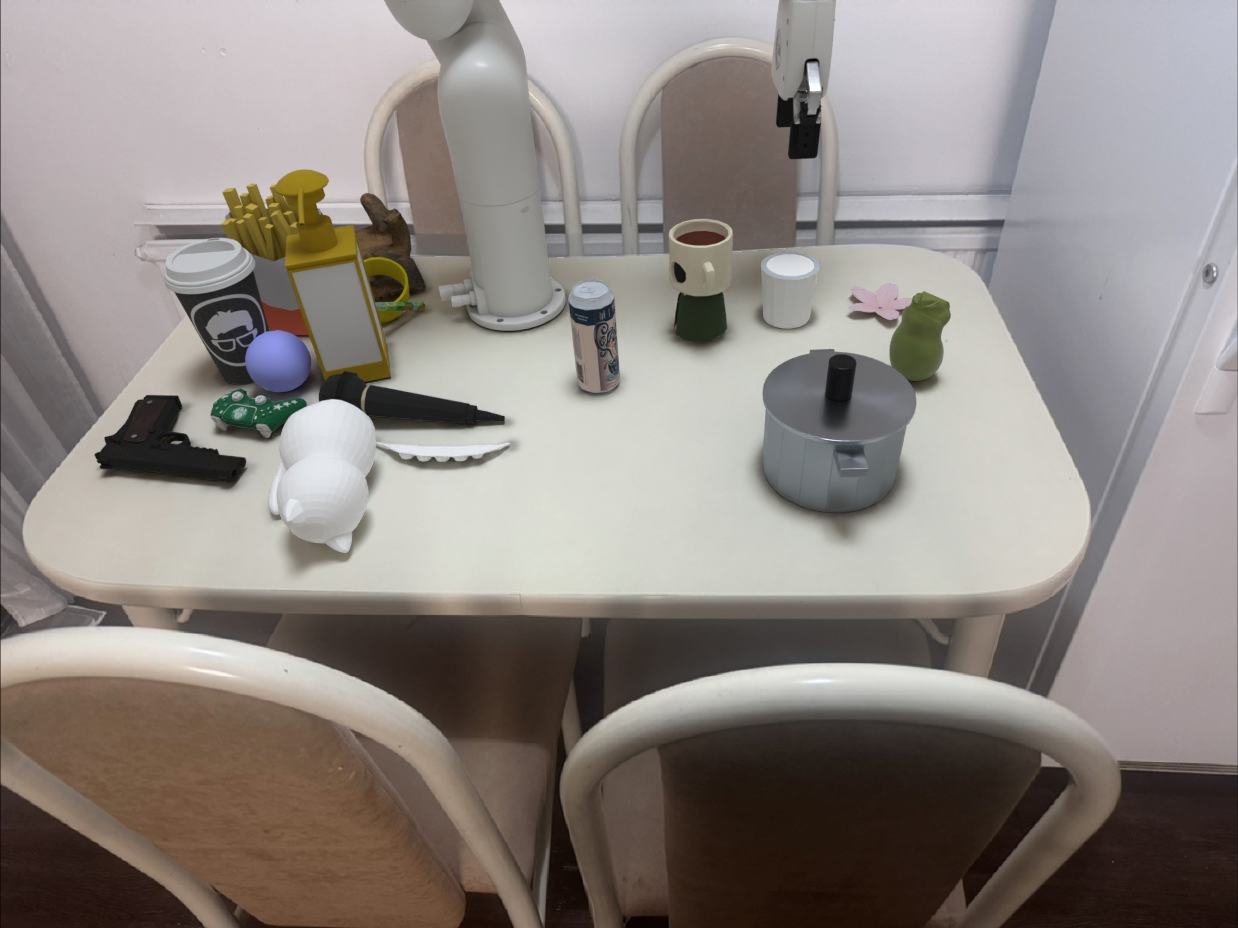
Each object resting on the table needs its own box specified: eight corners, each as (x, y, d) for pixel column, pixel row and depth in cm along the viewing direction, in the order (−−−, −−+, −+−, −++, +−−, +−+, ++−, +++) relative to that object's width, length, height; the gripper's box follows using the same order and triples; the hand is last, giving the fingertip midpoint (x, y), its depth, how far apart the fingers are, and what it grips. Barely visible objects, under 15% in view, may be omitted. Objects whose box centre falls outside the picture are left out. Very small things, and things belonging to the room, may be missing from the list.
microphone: (512, 394, 95) (334, 369, 96) (502, 392, 89) (313, 366, 90) (505, 443, 95) (328, 418, 96) (496, 444, 90) (307, 418, 90)
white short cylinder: (752, 304, 108) (755, 253, 103) (807, 299, 108) (812, 247, 103) (764, 334, 103) (767, 281, 98) (821, 328, 103) (827, 275, 98)
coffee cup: (307, 352, 105) (266, 238, 96) (258, 397, 99) (210, 281, 89) (242, 341, 108) (197, 230, 98) (191, 385, 101) (137, 270, 92)
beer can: (615, 397, 95) (608, 302, 87) (573, 394, 96) (562, 299, 88) (624, 372, 98) (617, 278, 90) (583, 369, 99) (573, 276, 91)
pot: (773, 535, 78) (779, 464, 72) (754, 412, 91) (758, 345, 86) (915, 532, 77) (932, 460, 72) (875, 409, 91) (887, 340, 85)
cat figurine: (405, 420, 87) (387, 543, 77) (323, 472, 92) (298, 593, 83) (333, 370, 81) (304, 495, 72) (251, 429, 87) (213, 552, 77)
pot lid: (770, 453, 74) (773, 411, 71) (755, 363, 85) (757, 322, 82) (931, 448, 74) (941, 405, 71) (896, 358, 84) (903, 317, 81)
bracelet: (386, 317, 106) (388, 333, 109) (420, 273, 110) (421, 288, 113) (333, 292, 107) (337, 307, 110) (369, 248, 110) (371, 264, 113)
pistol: (290, 420, 96) (232, 489, 87) (149, 405, 99) (79, 471, 90) (284, 403, 95) (225, 471, 86) (142, 388, 98) (70, 453, 88)
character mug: (663, 313, 107) (660, 214, 99) (719, 306, 108) (721, 207, 99) (679, 361, 99) (678, 259, 91) (740, 354, 100) (744, 251, 91)
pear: (875, 374, 95) (889, 294, 89) (907, 355, 98) (922, 276, 91) (917, 396, 92) (934, 315, 85) (948, 377, 94) (968, 296, 88)
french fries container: (339, 337, 107) (295, 199, 95) (258, 335, 109) (204, 199, 97) (353, 318, 111) (312, 182, 99) (273, 316, 112) (223, 182, 100)
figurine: (378, 178, 123) (424, 235, 110) (395, 225, 129) (441, 286, 115) (288, 211, 120) (324, 274, 107) (310, 259, 125) (347, 324, 112)
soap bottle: (328, 417, 95) (256, 215, 79) (326, 355, 104) (262, 164, 89) (394, 403, 96) (336, 202, 81) (386, 344, 105) (333, 153, 90)
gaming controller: (298, 382, 94) (269, 422, 90) (311, 406, 97) (284, 446, 93) (226, 371, 96) (195, 410, 92) (241, 395, 99) (211, 434, 95)
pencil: (322, 299, 95) (422, 299, 111) (316, 306, 96) (417, 304, 112) (328, 309, 95) (428, 307, 111) (322, 315, 95) (422, 312, 112)
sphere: (333, 375, 99) (287, 369, 93) (292, 405, 102) (245, 401, 95) (310, 323, 101) (263, 314, 94) (271, 354, 103) (222, 347, 97)
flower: (818, 303, 107) (819, 292, 106) (879, 279, 111) (880, 268, 110) (874, 339, 100) (876, 327, 99) (937, 312, 104) (939, 301, 103)
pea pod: (502, 452, 86) (504, 466, 86) (510, 436, 90) (511, 450, 91) (355, 452, 87) (357, 466, 87) (369, 436, 91) (371, 450, 92)
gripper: (763, -41, 96) (754, 116, 107) (786, -2, 83) (773, 172, 94) (831, -44, 95) (815, 113, 107) (865, -6, 82) (842, 170, 94)
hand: (795, 141), depth 100 cm, fingers open, 9 cm apart
